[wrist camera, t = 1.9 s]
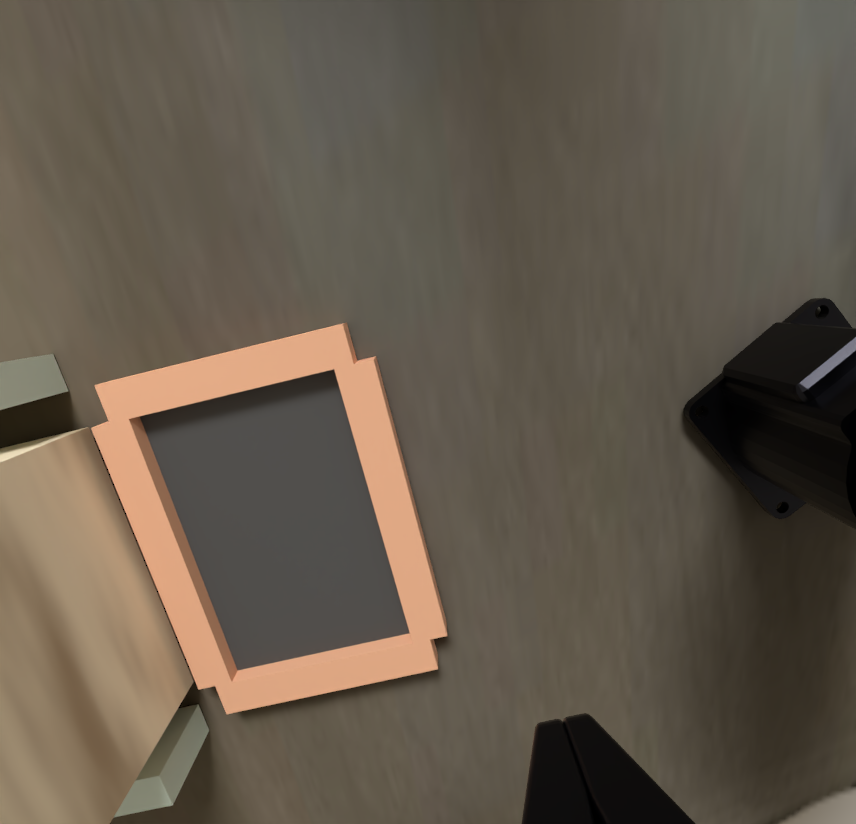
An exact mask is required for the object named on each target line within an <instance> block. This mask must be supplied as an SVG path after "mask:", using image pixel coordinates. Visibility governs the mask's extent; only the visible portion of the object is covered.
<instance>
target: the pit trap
mask: <svg viewBox="0 0 856 824" xmlns="http://www.w3.org/2000/svg"><path fill="white" fill-rule="evenodd" d="M94 386H95V388H96V391H97V393H98V396H99V398H100V401H101V403H102V406H103V408H104V410H105V413H106V415H107V418H108V420H109V421H108V422H105V423H102V424H100V425H98V426H95V427H93V428H91V429H92V432H93V434H94V437H95V439H96V442H97V444H98V446H99V449H100V451H101V454H102V456H103V459H104V461H105V463H106V466H107V468H108V471H109V473H110V476H111V478H112V481H113V483H114V485H115V488H116V490H117V493H118V495H119V498H120V500H121V502H122V505H123V507H124V510H125V512H126V515H127V517H128V519H129V522H130V524H131V527H132V529H133V532H134V534H135V536H136V539H137V541H138V544H139V546H140V549H141V551H142V553H143V556H144V558H145V561H146V563H147V566H148V568H149V570H150V573H151V575H152V578H153V580H154V583H155V585H156V587H157V590H158V592H159V595H160V597H161V600H162V602H163V604H164V607H165V609H166V612H167V614H168V617H169V619H170V622H171V624H172V626H173V629H174V631H175V634H176V636H177V639H178V641H179V643H180V646H181V648H182V651H183V653H184V656H185V658H186V660H187V663H188V665H189V668H190V670H191V673H192V675H193V677H194V680H195V682H196V685H197V687H198V690H199V689H204V688H209V687H213V686H215V687H216V689H217V692H218V694H219V697H220V699H221V702H222V704H223V707H224V709H225V712H226V714H230V713H235V712H240V711H245V710H249V709H254V708H259V707H263V706H268V705H273V704H277V703H282V702H287V701H291V700H296V699H301V698H306V697H310V696H315V695H320V694H324V693H329V692H334V691H338V690H343V689H348V688H353V687H357V686H362V685H367V684H371V683H376V682H381V681H385V680H390V679H395V678H399V677H404V676H409V675H414V674H418V673H423V672H428V671H432V670H437V669H438V653H437V649H436V646H435V642H434V639H436V638H440V637H445V636H447V624H446V618H445V614H444V610H443V607H442V603H441V599H440V595H439V592H438V588H437V584H436V580H435V577H434V573H433V569H432V565H431V561H430V558H429V554H428V550H427V546H426V543H425V539H424V535H423V531H422V528H421V524H420V520H419V516H418V513H417V509H416V505H415V501H414V497H413V494H412V490H411V486H410V482H409V479H408V475H407V471H406V467H405V464H404V460H403V456H402V452H401V448H400V445H399V441H398V437H397V433H396V430H395V426H394V422H393V418H392V415H391V411H390V407H389V403H388V400H387V396H386V392H385V388H384V384H383V381H382V377H381V373H380V369H379V366H378V362H377V358H376V356H375V357H371V358H367V359H363V360H358V361H357V358H356V354H355V351H354V347H353V344H352V340H351V336H350V333H349V329H348V325H347V323H343V324H339V325H335V326H331V327H327V328H323V329H319V330H315V331H311V332H307V333H302V334H298V335H294V336H290V337H286V338H282V339H278V340H274V341H270V342H266V343H262V344H258V345H254V346H250V347H246V348H242V349H238V350H234V351H230V352H226V353H221V354H217V355H213V356H209V357H205V358H201V359H197V360H193V361H189V362H185V363H181V364H177V365H173V366H169V367H165V368H161V369H157V370H153V371H149V372H144V373H140V374H136V375H132V376H128V377H124V378H120V379H116V380H112V381H108V382H105V383H101V384H98V385H94Z"/></svg>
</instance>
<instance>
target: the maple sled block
mask: <svg viewBox="0 0 856 824" xmlns="http://www.w3.org/2000/svg"><path fill="white" fill-rule="evenodd" d="M193 682H194V681H193V678H192V676H191V674H190V671H189V669H188V666H187V664H186V661H185V659H184V657H183V654H182V652H181V649H180V647H179V644H178V642H177V640H176V637H175V635H174V632H173V630H172V627H171V625H170V623H169V620H168V618H167V615H166V613H165V610H164V608H163V606H162V603H161V601H160V598H159V596H158V593H157V591H156V589H155V586H154V584H153V581H152V579H151V576H150V574H149V572H148V569H147V567H146V564H145V562H144V559H143V557H142V555H141V552H140V550H139V547H138V545H137V543H136V540H135V538H134V535H133V533H132V530H131V528H130V526H129V523H128V521H127V518H126V516H125V513H124V511H123V509H122V506H121V504H120V501H119V499H118V496H117V494H116V492H115V489H114V487H113V484H112V482H111V479H110V477H109V475H108V472H107V470H106V467H105V465H104V462H103V460H102V458H101V455H100V453H99V450H98V448H97V445H96V443H95V441H94V438H93V436H92V433H91V431H90V428H89V427H87V428H83V429H79V430H74V431H70V432H66V433H62V434H58V435H54V436H50V437H46V438H41V439H37V440H33V441H29V442H25V443H21V444H17V445H13V446H9V447H4V448H0V824H110V823H111V821H112V819H113V817H114V816H115V814H116V812H117V811H118V809H119V807H120V806H121V804H122V802H123V801H124V799H125V797H126V795H127V794H128V792H129V790H130V789H131V787H132V785H133V784H134V782H135V780H136V779H137V777H138V775H139V773H140V772H141V770H142V768H143V767H144V765H145V763H146V762H147V760H148V758H149V757H150V755H151V753H152V751H153V750H154V748H155V746H156V745H157V743H158V741H159V740H160V738H161V736H162V734H163V733H164V731H165V729H166V728H167V726H168V724H169V723H170V721H171V719H172V718H173V716H174V714H175V712H176V711H177V709H178V707H179V706H180V704H181V702H182V701H183V699H184V697H185V696H186V694H187V692H188V690H189V689H190V687H191V685H192V684H193Z"/></svg>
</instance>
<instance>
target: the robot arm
mask: <svg viewBox="0 0 856 824" xmlns="http://www.w3.org/2000/svg"><path fill="white" fill-rule="evenodd" d="M818 307H820V309H821V311H820V314H819V316H818V317H816V315H815V311H816V309H817V308H818ZM699 406H702V407H703V412H702V413H701V414H700V415H698V416H696V414H695V412H696V409H697V408H698V407H699ZM684 415H685V417H686V418H687V420H688V421H689V422H690V423H691V424H692V425H693V427H694V428H695V429H696V430H697V431H698V432H699V434H700V435H701V436H702V437H703V438H704V440H705V441H706V442H707V443H708V444H709V445H710V447H711V448H712V449H713V450H714V451H715V452H716V454H717V455H718V456H719V457H720V458H721V459H722V461H723V462H724V463H725V464H726V465H727V466H728V468H729V469H730V470H731V471H732V472H733V473H734V475H735V476H736V477H737V478H738V479H739V480H740V482H741V483H742V484H743V485H744V486H745V487H746V489H747V490H748V491H749V492H750V493H751V494H752V496H753V497H754V498H755V499H756V500H757V502H758V503H759V504H760V505H761V506H762V507H763V509H764V510H765V511H766V512H768V513H769V514H770V515H772V516H774V517H775V518H778V519H783V518H786V517H788V516H790V515H791V514H792V513H794V512H795V511H796V510H798V509H799V508H800V507H802V506H803V505H804V504H805V503H808V504H810V505H812V506H814V507H816V508H818V509H819V510H821V511H823V512H825V513H827V514H829V515H830V516H832V517H834V518H836V519H838V520H840V521H841V522H843V523H845V524H847V525H849V526H851V527H852V528H854V529H856V328H852V327H851V326H850V324H849V323H848V321H847V320H846V319H845V317H844V316H843V315H842V313H841V312H840V311H839V309H838V308H837V307H836V305H835V304H834V303H833V302H832V301H831V300H830V299H826V298H814V299H810V300H809V301H807V302H806V303H804V304H803V305H802V306H801V307H800V308H799V309H797V310H796V311H795V312H794V313H793V314H791V315H790V316H789V317H788V318H787V319H785V320H784V321H783V322H782V323H775V324H773V325H772V326H771V327H770V328H769V329H768V330H766V331H765V332H764V333H763V334H762V335H760V336H759V337H758V338H757V339H756V340H754V341H753V342H752V343H751V344H750V345H749V346H747V347H746V348H745V349H744V350H743V351H741V352H740V353H739V354H738V355H737V356H735V357H734V358H733V359H732V360H731V361H730V362H728V363H727V364H726V365H725V366H724V368H723V371H722V373H721V374H720V375H719V376H718V377H716V378H715V379H714V380H713V381H712V382H711V383H709V384H708V385H707V386H706V387H705V388H703V389H702V390H701V391H700V392H699V393H697V394H696V395H695V396H694V397H693V398H691V399H690V400H689V401H688V402H687V404H686V405H685V408H684ZM780 502H782V505H781V506H780V508H778V509H776V507H777V505H778V504H779V503H780ZM522 824H695V823H694V822H693V821H692V820H691V819H690V818H689V817H688V816H687V815H686V813H685V812H684V811H683V810H682V809H681V808H680V807H679V806H678V805H677V804H676V803H675V802H674V801H673V800H672V799H671V798H670V797H669V796H668V795H667V794H666V793H665V792H664V791H663V790H662V789H661V788H660V787H659V786H658V785H657V784H656V782H655V781H654V780H653V779H652V778H651V777H650V776H649V775H648V774H647V773H646V772H645V771H644V770H643V769H642V768H641V767H640V766H639V765H638V764H637V763H636V762H635V761H634V760H633V759H632V758H631V757H630V756H629V755H628V754H627V752H626V751H625V750H624V749H623V748H622V747H621V746H620V745H619V744H618V743H617V742H616V741H615V740H614V739H613V738H612V737H611V736H610V735H609V734H608V733H607V732H606V731H605V730H604V729H603V728H602V727H601V726H600V725H599V724H598V723H597V721H596V720H595V719H594V718H593V717H591V716H590V715H589V714H586V713H584V714H579V715H574V716H569V717H566V718H564V720H563V722H562V721H561V720H560V719H555V720H550V721H545V722H540V723H538V724H537V725H536V727H535V733H534V740H533V747H532V754H531V761H530V768H529V775H528V782H527V789H526V796H525V803H524V810H523V817H522Z"/></svg>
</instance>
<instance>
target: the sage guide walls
mask: <svg viewBox="0 0 856 824" xmlns="http://www.w3.org/2000/svg"><path fill="white" fill-rule="evenodd" d="M67 391H68V389H67V386H66V384H65V381H64V379H63V376H62V374H61V372H60V369H59V367H58V364H57V362H56V360H55V357H54V355H53V354H49V355H43V356H36V357H30V358H24V359H18V360H12V361H6V362H0V410H2V409H6V408H9V407H13V406H17V405H20V404H24V403H28V402H31V401H35V400H38V399H42V398H46V397H49V396H53V395H56V394H60V393H64V392H67ZM208 732H209V729H208V726H207V724H206V721H205V719H204V716H203V714H202V712H201V709H200V707H199V704H197V705H192V706H188V707H183V708H178V709H177V711H176V712H175V714H174V716H173V718H172V719H171V721H170V723H169V724H168V726H167V728H166V729H165V731H164V733H163V734H162V736H161V738H160V740H159V741H158V743H157V745H156V746H155V748H154V750H153V751H152V753H151V755H150V757H149V758H148V760H147V762H146V763H145V765H144V767H143V768H142V770H141V772H140V773H139V775H138V777H137V779H136V780H135V782H134V784H133V785H132V787H131V789H130V790H129V792H128V794H127V795H126V797H125V799H124V801H123V802H122V804H121V806H120V807H119V809H118V811H117V812H116V814H115V816H114V817H118V816H123V815H128V814H133V813H138V812H143V811H147V810H152V809H157V808H162V807H167V806H172V805H173V804H174V802H175V800H176V798H177V796H178V794H179V792H180V789H181V787H182V785H183V783H184V781H185V779H186V777H187V775H188V773H189V771H190V769H191V767H192V765H193V763H194V761H195V759H196V757H197V755H198V753H199V751H200V749H201V746H202V744H203V742H204V740H205V738H206V736H207V734H208Z"/></svg>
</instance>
